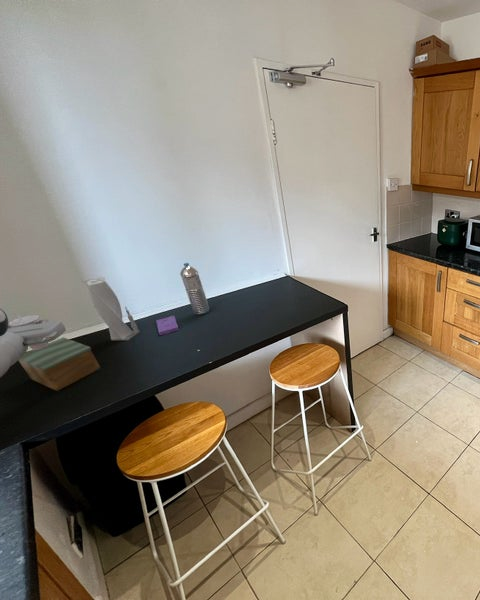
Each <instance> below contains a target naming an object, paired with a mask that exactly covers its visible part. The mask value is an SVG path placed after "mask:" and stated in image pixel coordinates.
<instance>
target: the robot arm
mask: <svg viewBox="0 0 480 600" xmlns="http://www.w3.org/2000/svg"><path fill="white" fill-rule="evenodd" d="M38 323H39V324H33V325H27V326H21V327H15V328H10V326H9V318H8V315H7V313H6V312H5V311H4V310H3V309H2V308H0V378H2V377H3V376H4V375H5V374H6V373H8V370H9V369H10V367H12V366H13V365H15V364H16V363H17V362H19V361H18V360H19V359H20V358H21V357H22V356H23V355H24V354H25V353H27V352H28V350H29V347H30V346H32V345H37V344H43V343H51V342H53V341H56V340H57V339H59V337H61V336H62V335H63V334H64V333H65V332H67V331H66V327H65V324H64V322H62V321H61V320H53V321H52V320H51V321H49V319H48V318H46V319H41V320H40V321H39V322H38Z"/></svg>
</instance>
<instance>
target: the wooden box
mask: <svg viewBox="0 0 480 600" xmlns="http://www.w3.org/2000/svg"><path fill="white" fill-rule="evenodd" d="M17 362H19V363H20V365H21V366H22V369H24V371H25V372H26V373H27V375H28V377H29V378H30V380H32V381H34V382H36V383H39V384H40V385H42V386H44V387H48V388H50V389H51V390H54V391H56V392H59V391H60V390H62V389H63V388H65V387H68V386H69V385H71V384H73V383H75V382H77V381H79V380H81V379H83V378H85V377H87V376H88V375H90V374H93V373H94V372H97V371H99V370H100V369H101V368H102V367H101V366H100V364H99V361H98V360H97V359H96V357H95V355H94V353H93V351H92V348H91V349H90V350H88V351H86V352H84V353H81V354H79V355H77V356H75V357H73V358H71V359H68V360H66V361H64V362H62V363H60V364H58V365H56V366H53V367H51V368H49V369H47V370H45V371H44V370H42V369H39V368H37V367H35V366H32V365H30V364H28V363H26V362H23V361H21V360H18V361H17Z"/></svg>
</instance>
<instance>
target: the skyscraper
mask: <svg viewBox="0 0 480 600" xmlns="http://www.w3.org/2000/svg"><path fill="white" fill-rule="evenodd" d="M82 283H83V284H85V285H86V287H87V290H88V294H89V299H90V300H91V303H92V305H93V308H94V309H95V311H96V313H97V314H98V315H99V317H100V318H101V320H102V321H103V322H104V323H105V324H106V325H107V326H108V332H109V336H110V340H111V342H112V341H113V342H116V341H117V342H118V341H120V342H121V341H125V342H126V341H128V342H129V341H130V340H132V339H133V338H134V337H135V336H137V335H139V334H140V333H141V330H139V327H138V325H137V323H136V322H135V319H134V318H133V317H134V316H133V315H132V314H130V311H129V310H128V308H127V306H124V309H125V312H126V314H127V316H126V317H127V319H128V321H129V323H130V326H131V328H132V329H131V328H130V327H129V326H128V325H127V324H126V323H125V322H124V321H123V311H122V307H121V303H120V300H119V298H118V296H117V294H116V293H115V291H114V290H113V289H112V288H111V286H110V285H109V284H108V283H107V281H106V280H105V277H104V276H98V277H97V276H96V277H90V278H85V279H83V280H82Z"/></svg>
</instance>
